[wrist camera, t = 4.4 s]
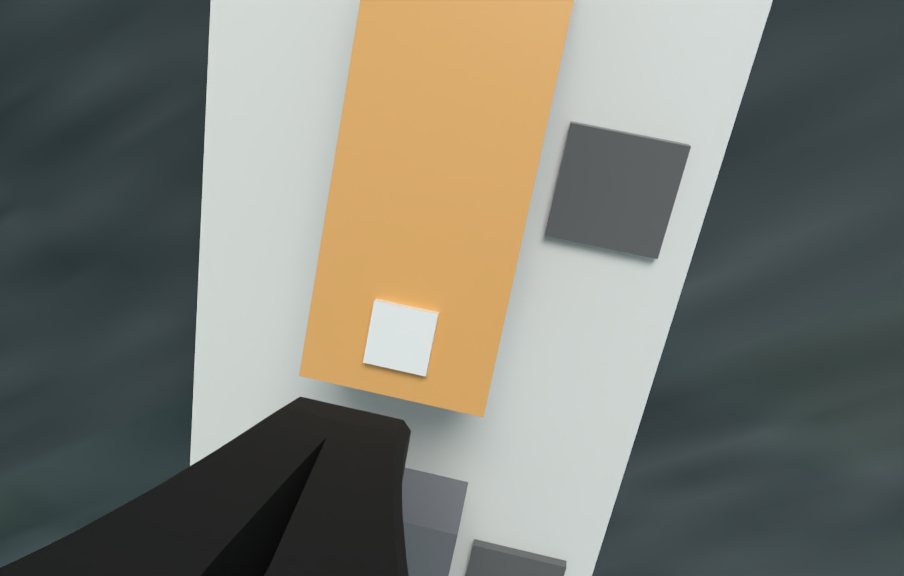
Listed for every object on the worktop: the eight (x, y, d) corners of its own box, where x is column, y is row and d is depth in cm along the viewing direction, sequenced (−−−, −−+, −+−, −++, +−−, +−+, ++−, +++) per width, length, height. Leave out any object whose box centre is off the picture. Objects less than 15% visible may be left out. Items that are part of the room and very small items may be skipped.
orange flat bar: (579, -32, 12) (585, -56, 10) (487, 392, 13) (482, 420, 12) (390, -66, 12) (372, -95, 10) (320, 355, 13) (296, 379, 12)
